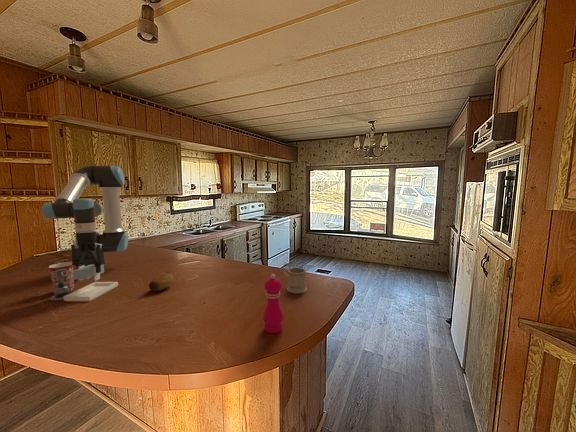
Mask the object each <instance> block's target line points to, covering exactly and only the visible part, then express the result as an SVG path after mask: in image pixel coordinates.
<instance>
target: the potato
mask: <svg viewBox="0 0 576 432" xmlns="http://www.w3.org/2000/svg"><path fill="white" fill-rule="evenodd" d="M174 278H175V277H174V274H173V273H172V271H168V270H165V271H164V270H163V271H162V272H160V273H158V275H156V276H155V277H154V278H152V279H151V280H150V282H149V284H148V288H149V290H151V291H155V292H157V291H158V292H159V291H163V290H165V289H168V287H170V286H171V285H172V284H173V281H174Z"/></svg>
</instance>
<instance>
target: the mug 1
mask: <svg viewBox="0 0 576 432" xmlns="http://www.w3.org/2000/svg"><path fill="white" fill-rule="evenodd" d="M75 267H77V266H75V265H72V261H69V262H68V261H67V262H58V263H56V264H55V263H54V264H51V265H49V266H48V268H49V273H50V279H51V282H52V283H51V284H52V290H53V293H54V294H55V291H54V288H55V287H57V286H58V279H57V274H54V271H57V270H60V269H66V271H64V272H63V279H64V285H68V289H69V292H73V291H75V284H76V283H77V282H78V280H79V279H73V271H74V269H75Z"/></svg>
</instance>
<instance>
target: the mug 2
mask: <svg viewBox="0 0 576 432" xmlns="http://www.w3.org/2000/svg"><path fill="white" fill-rule="evenodd" d="M285 266H288V268H287V269H288V271H287V272H288V274H287V272H286V271H285ZM282 271H283V273H284V275H286V277H288V287H287V288H286V290H287V292H289V293H291V294H292V293H293V294H304V293H306V292H307V290H308V288H307V286H306V269H305V268H302V267H293V268H292V267H291V266H290V262H285V263H284V264H283V265H282Z"/></svg>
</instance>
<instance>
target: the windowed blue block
mask: <svg viewBox="0 0 576 432" xmlns="http://www.w3.org/2000/svg"><path fill="white" fill-rule="evenodd" d="M94 266H95V265H88V266H85V267H82V268H79V269H76V270H74V271H73V279H74V280H75V279H78V280H79V279H83V280H89V279H91V278H94V271H93V267H94ZM103 273H105V269H104V264H102V265H101V272H100V275H102V274H103Z"/></svg>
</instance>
